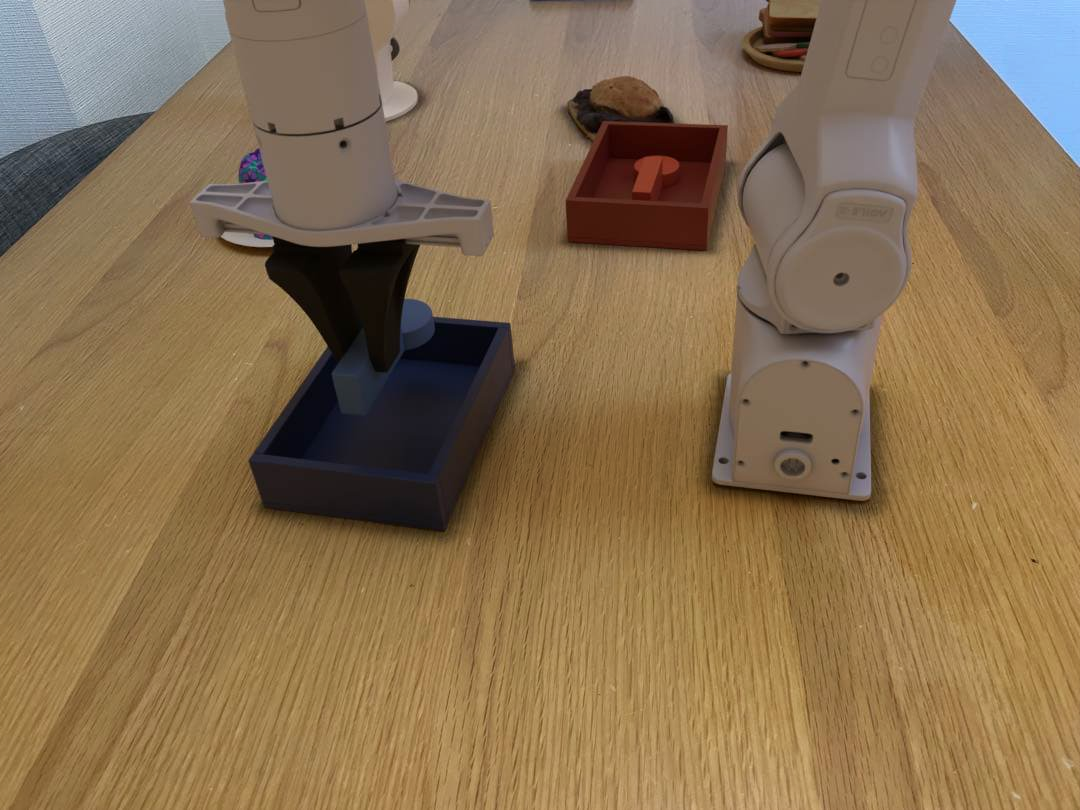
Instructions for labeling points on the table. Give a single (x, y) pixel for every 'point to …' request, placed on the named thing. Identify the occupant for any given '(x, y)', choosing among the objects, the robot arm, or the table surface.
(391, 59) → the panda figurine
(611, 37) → the table surface
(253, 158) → the pudding
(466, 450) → the blue bin
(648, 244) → the red bin
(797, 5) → the toy sandwich meal
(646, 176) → the red spoon
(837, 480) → the robot arm
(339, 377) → the blue spoon
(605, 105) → the bread roll
